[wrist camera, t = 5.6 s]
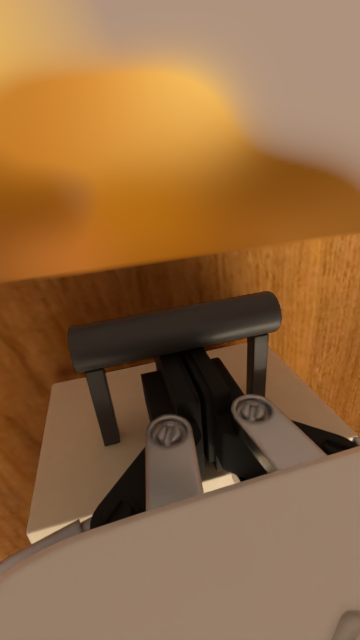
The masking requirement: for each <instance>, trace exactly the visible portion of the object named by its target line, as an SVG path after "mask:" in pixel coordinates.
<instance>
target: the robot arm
mask: <svg viewBox="0 0 360 640" xmlns="http://www.w3.org/2000/svg"><path fill="white" fill-rule="evenodd" d="M155 363H156V370H157V371H153V372H148V373H144V374H141V380H142V386H143V392H144V397H145V402H146V407H147V411H148V415H149V420H150V423H149V425H148V427H147V428H146V433H145V447H144V449H143V450H142V451H141V452H140V454H139V455H138V456H137V457H136V459H135V460H134V461H133V462H132V464H131V465H130V466H129V467H128V469H127V470H126V471H125V472H124V474H123V475H122V476H121V477H120V479H119V480H118V481H117V482H116V484H115V485H114V486H113V488H112V489H111V490H110V491H109V493H108V494H107V495H106V496H105V498H104V499H103V500H102V501H101V503H100V504H99V505H98V506H97V508H96V510H95V511H94V513H93V515H92V517H90V518H88V519H86V520H84V521H82V522H80V520H79V519H78V520H76V521H74V522H72V523H70V524H69V525H67V526H65V527H63V528H61V529H59V530H57V531H55V532H53V533H52V534H50V535H48V536H46V537H44V538H42V539H40V540H38V541H37V542H35V543H33V544H31V545H29V546H27V547H25V548H23V549H22V550H20V551H18V552H16V553H14V554H12V555H10V556H8V557H7V558H5V559H4V560H3V561H1V562H0V640H360V437H353V440H352V441H350V440H349V439H347V438H345V437H343V436H340V435H338V434H334V433H331V432H328V431H325V430H322V429H319V428H315V427H312V426H309V425H306V424H303V423H300V422H297V421H293V420H290V419H289V418H288V417H287V416H286V415H285V414H284V413H283V412H282V411H281V410H280V409H279V408H278V407H277V406H276V405H275V404H273V403H272V402H271V401H270V400H269V399H267V398H265V397H263V396H261V395H256V394H246V395H244V393H243V392H242V390H241V389H240V387H239V386H238V384H237V383H236V381H235V380H234V379H233V377H232V376H231V374H230V373H229V371H228V370H227V368H226V367H225V365H224V364H223V362H222V361H221V360H220V358H218V357H216V358H212V359H210V357H209V356H208V354H207V353H206V351H205V350H204V348H203V347H200V348H195V349H190V350H185V351H181V352H176V353H171V354H167V355H162V356H157V357H155ZM204 455H205V457H206V460H207V462H208V463H211V462H213V463H214V466H215V468H216V471H219V470H223V469H224V470H226V471H228V472H230V473H231V475H232V479H233V481H234V483H235V484H232V485H229V486H226V487H223V488H219V489H216V490H213V491H210V492H206V493H204V491H203V486H202V478H203V477H204V475H205V471H204Z"/></svg>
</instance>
